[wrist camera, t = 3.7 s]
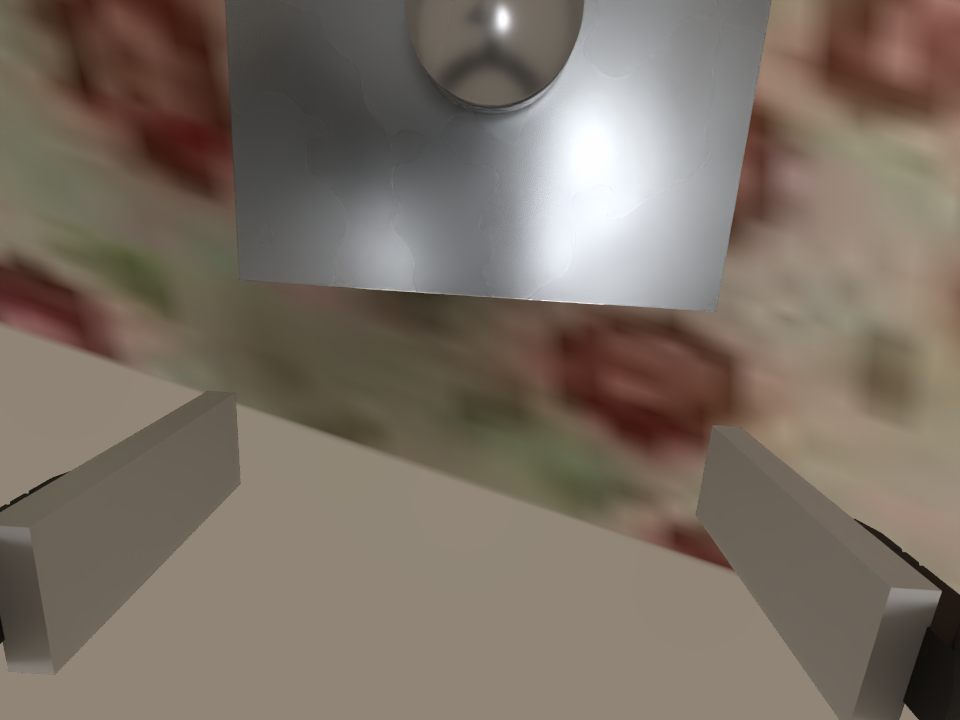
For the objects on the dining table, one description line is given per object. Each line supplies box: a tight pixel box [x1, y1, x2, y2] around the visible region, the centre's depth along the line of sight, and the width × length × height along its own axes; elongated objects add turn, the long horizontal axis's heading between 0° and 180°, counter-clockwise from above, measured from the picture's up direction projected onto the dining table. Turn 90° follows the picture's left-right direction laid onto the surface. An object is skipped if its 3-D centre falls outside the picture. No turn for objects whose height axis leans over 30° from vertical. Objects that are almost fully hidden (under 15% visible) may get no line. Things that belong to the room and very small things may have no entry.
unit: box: [225, 0, 771, 312], centre depth 12 cm, size 10×10×11 cm
